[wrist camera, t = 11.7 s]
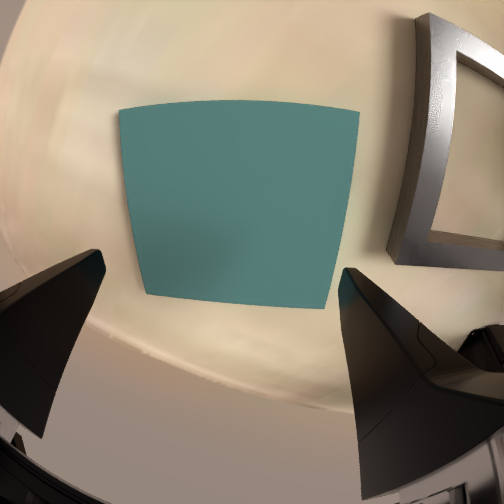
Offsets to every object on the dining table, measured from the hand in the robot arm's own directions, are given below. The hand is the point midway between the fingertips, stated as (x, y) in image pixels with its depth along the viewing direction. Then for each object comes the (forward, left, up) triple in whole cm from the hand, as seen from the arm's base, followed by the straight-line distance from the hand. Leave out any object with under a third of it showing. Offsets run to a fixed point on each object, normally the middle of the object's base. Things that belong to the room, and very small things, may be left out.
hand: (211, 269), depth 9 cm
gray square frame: (+5, -15, -5) cm, 17 cm away
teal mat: (0, 0, -5) cm, 5 cm away
